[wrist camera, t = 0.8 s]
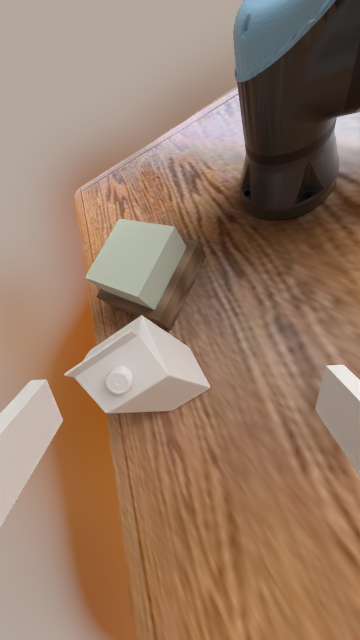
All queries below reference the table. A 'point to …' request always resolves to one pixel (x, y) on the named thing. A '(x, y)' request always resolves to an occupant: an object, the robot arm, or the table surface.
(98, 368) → the milk carton
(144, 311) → the tower base
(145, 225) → the tower top
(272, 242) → the table surface
